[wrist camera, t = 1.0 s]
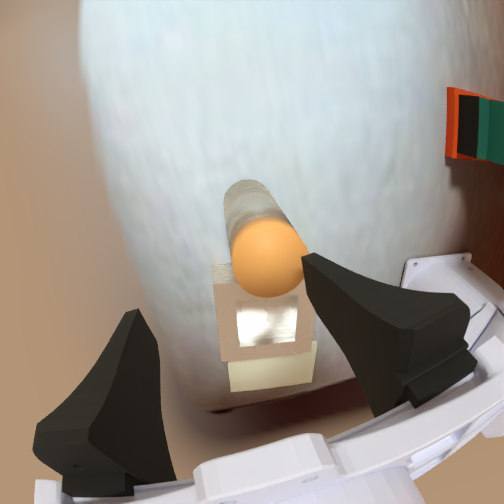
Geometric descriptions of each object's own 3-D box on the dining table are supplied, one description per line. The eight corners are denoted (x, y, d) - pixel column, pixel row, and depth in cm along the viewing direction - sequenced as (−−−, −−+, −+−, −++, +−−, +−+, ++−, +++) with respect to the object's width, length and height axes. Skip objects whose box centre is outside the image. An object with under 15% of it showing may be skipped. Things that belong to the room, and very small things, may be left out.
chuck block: (308, 257, 26) (319, 274, 24) (302, 331, 30) (311, 351, 27) (212, 265, 25) (213, 284, 23) (219, 339, 29) (221, 361, 26)
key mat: (316, 340, 31) (317, 343, 30) (310, 378, 33) (311, 381, 33) (226, 350, 30) (226, 354, 29) (230, 388, 32) (230, 392, 32)
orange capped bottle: (271, 178, 23) (311, 226, 14) (271, 223, 25) (306, 293, 16) (222, 181, 23) (230, 231, 14) (224, 226, 24) (234, 301, 15)
